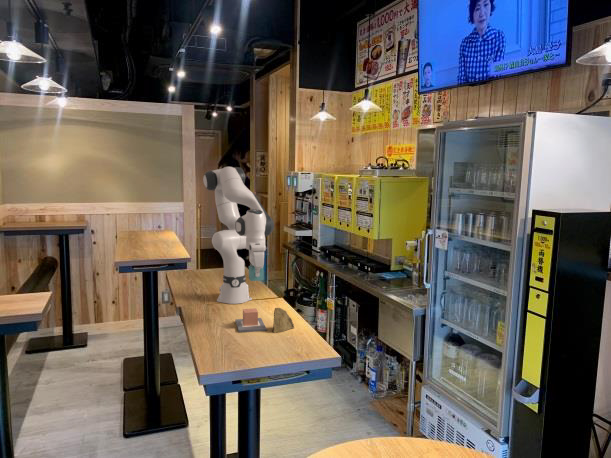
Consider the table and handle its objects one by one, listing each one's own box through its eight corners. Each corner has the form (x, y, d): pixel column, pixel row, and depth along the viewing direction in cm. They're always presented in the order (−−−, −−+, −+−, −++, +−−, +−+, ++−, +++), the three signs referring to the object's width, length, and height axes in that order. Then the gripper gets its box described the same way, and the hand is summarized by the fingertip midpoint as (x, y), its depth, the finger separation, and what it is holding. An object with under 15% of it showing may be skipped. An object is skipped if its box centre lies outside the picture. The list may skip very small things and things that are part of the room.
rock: (294, 319, 209) (272, 317, 208) (297, 308, 204) (274, 305, 202) (293, 340, 201) (270, 337, 200) (296, 329, 196) (273, 326, 194)
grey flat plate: (235, 321, 213) (235, 319, 213) (261, 319, 216) (261, 317, 216) (238, 332, 198) (238, 330, 198) (266, 330, 201) (266, 328, 201)
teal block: (248, 278, 214) (248, 265, 213) (261, 277, 216) (261, 265, 215) (250, 281, 208) (250, 268, 208) (263, 280, 210) (263, 267, 209)
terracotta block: (242, 321, 209) (242, 309, 209) (256, 321, 211) (256, 308, 210) (244, 325, 203) (244, 312, 203) (257, 325, 205) (257, 312, 204)
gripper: (246, 242, 220) (246, 271, 221) (251, 248, 200) (252, 279, 201) (259, 242, 221) (259, 270, 222) (266, 247, 201) (266, 278, 203)
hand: (256, 274), depth 212 cm, fingers closed on teal block, 6 cm apart
